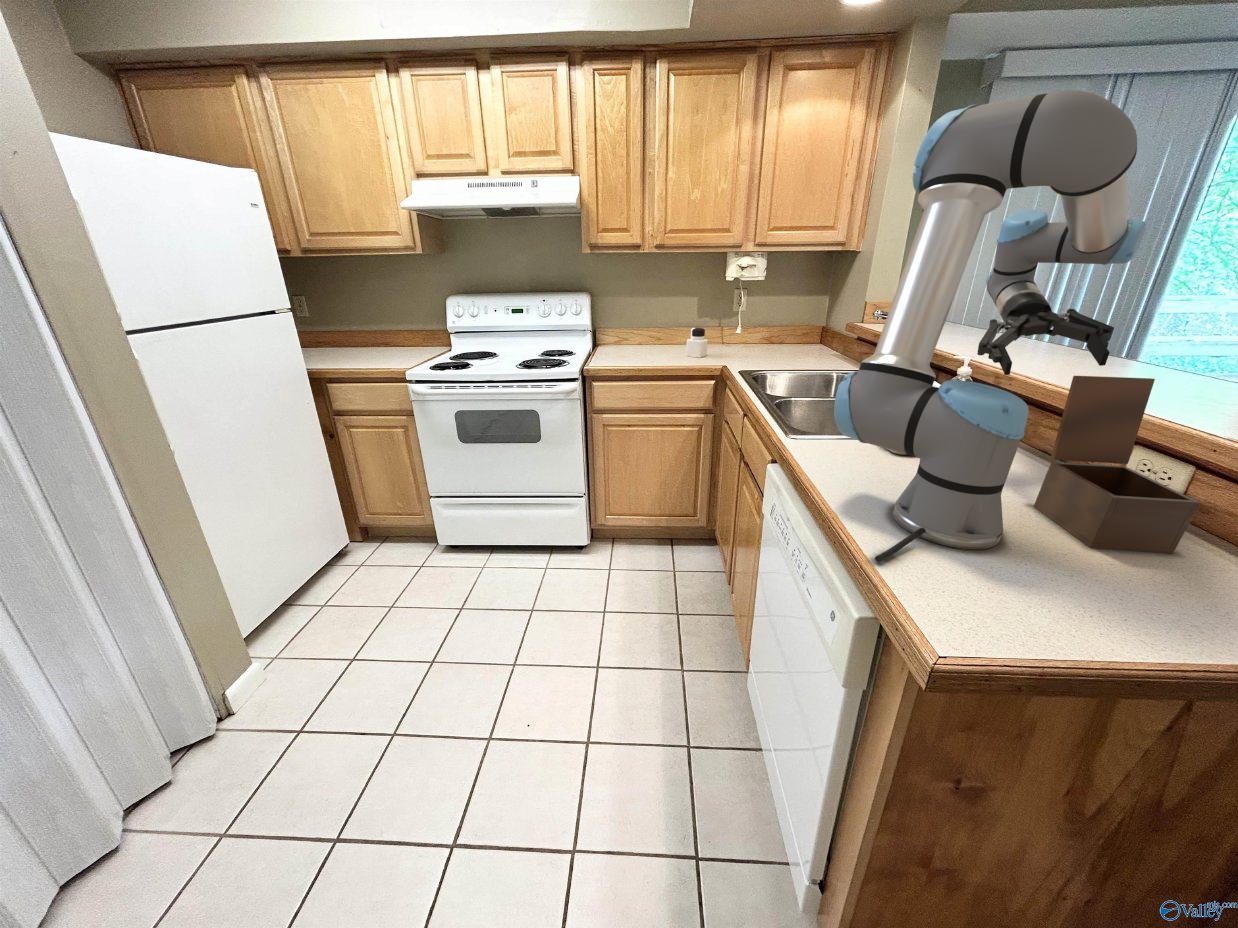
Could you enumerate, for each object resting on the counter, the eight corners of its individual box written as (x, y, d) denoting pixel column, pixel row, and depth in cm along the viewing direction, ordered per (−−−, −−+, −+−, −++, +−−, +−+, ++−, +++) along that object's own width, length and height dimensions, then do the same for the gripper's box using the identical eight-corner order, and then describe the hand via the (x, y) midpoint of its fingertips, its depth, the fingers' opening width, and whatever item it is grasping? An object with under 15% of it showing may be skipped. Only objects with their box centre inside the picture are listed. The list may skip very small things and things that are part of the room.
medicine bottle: (706, 355, 217) (709, 327, 212) (700, 358, 211) (702, 329, 207) (692, 353, 221) (694, 326, 216) (685, 356, 215) (687, 328, 210)
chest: (1173, 553, 74) (1201, 502, 71) (1090, 547, 76) (1113, 497, 72) (1103, 511, 87) (1124, 465, 83) (1033, 506, 88) (1051, 461, 85)
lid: (1155, 378, 79) (1150, 378, 80) (1077, 376, 80) (1073, 375, 81) (1128, 464, 83) (1123, 462, 84) (1053, 460, 84) (1050, 458, 85)
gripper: (1095, 314, 100) (1141, 372, 85) (950, 333, 110) (969, 388, 96) (1106, 279, 95) (1156, 335, 81) (953, 302, 105) (974, 356, 91)
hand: (1055, 364), depth 88 cm, fingers open, 13 cm apart
